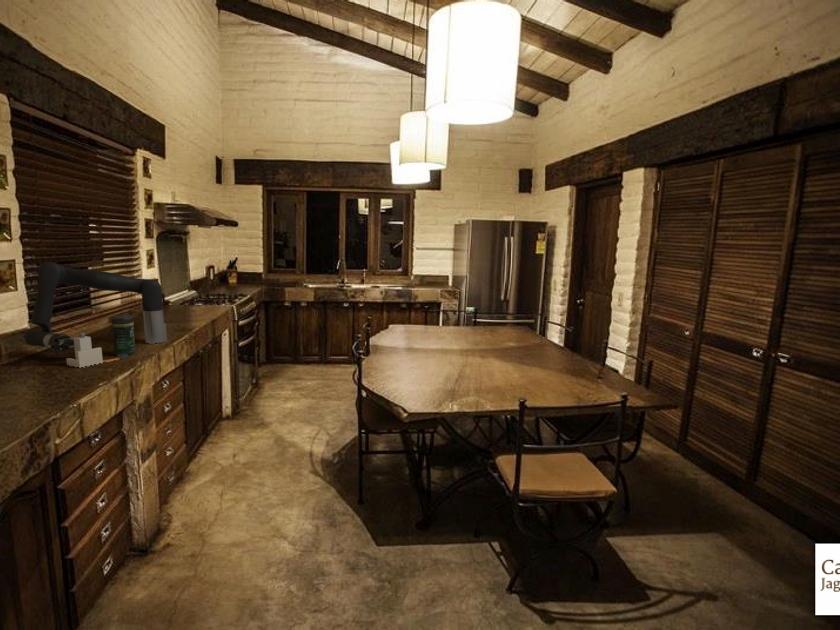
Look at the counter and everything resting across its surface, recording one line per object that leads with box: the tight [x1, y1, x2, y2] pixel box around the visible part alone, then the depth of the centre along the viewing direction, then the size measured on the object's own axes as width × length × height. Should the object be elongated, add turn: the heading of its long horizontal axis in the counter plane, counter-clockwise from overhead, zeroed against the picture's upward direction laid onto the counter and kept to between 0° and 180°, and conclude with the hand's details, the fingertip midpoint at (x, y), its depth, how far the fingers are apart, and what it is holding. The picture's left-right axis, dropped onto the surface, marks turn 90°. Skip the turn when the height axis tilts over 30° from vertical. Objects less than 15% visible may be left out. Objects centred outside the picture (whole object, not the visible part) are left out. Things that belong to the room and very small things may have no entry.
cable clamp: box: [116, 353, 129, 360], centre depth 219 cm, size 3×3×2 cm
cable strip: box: [103, 357, 122, 363], centre depth 215 cm, size 10×5×1 cm, turn 154°
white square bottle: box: [73, 331, 93, 360], centre depth 208 cm, size 4×4×14 cm
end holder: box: [65, 347, 104, 369], centre depth 208 cm, size 10×9×7 cm
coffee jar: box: [111, 314, 137, 356], centre depth 226 cm, size 10×8×19 cm
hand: (78, 345), depth 209 cm, fingers open, 8 cm apart
